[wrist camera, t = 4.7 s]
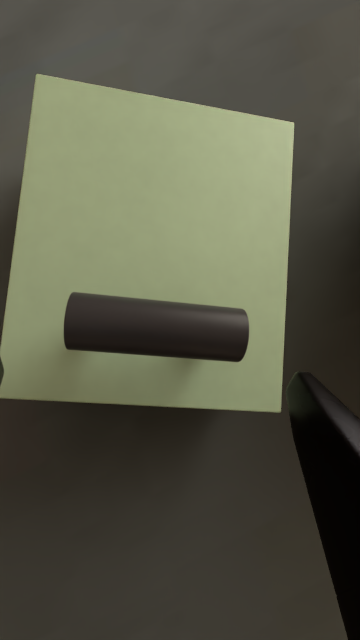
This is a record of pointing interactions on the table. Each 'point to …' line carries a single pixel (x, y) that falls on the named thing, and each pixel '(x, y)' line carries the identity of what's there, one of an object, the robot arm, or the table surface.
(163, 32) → the table surface
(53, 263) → the bin lid
